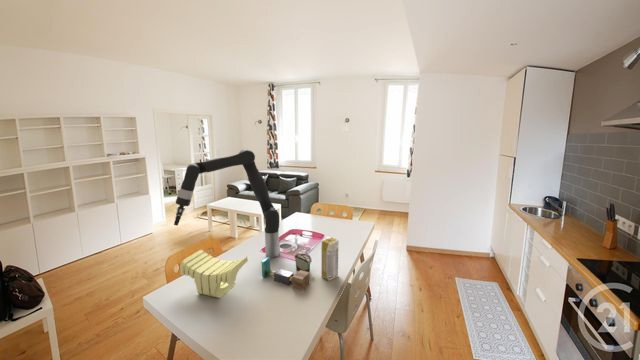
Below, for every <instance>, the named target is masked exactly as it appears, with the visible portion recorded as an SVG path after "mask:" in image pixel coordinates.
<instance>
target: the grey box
mask: <svg viewBox="0 0 640 360" xmlns="http://www.w3.org/2000/svg"><path fill="white" fill-rule="evenodd" d="M275 271H276V270H271V258H270V257H267V256H266V258H265V259H263V260H261V278H263V279H265V278H266V277H267V276H270V277H273V278H274V272H275ZM289 279H290V282H292V283H293V276H291V277H290V278H289Z"/></svg>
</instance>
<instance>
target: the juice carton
mask: <svg viewBox="0 0 640 360" xmlns="http://www.w3.org/2000/svg"><path fill="white" fill-rule="evenodd" d="M320 260H321V262H320V263H321V267H320V268H321V271H320V273H321V278H323V279H325V280H327V281H328V282H330V281H331V280H333V279H335V278H337V277H339V240H338V239H336V238H334V237H330V236H327V237H325V239H322V240H321V259H320Z"/></svg>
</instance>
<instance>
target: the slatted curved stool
mask: <svg viewBox="0 0 640 360" xmlns="http://www.w3.org/2000/svg"><path fill="white" fill-rule="evenodd" d="M247 262H248V256H246V257H243V258H240V259H236V260H223V259H219V258H217V257H213V256H212V255H210V254H209V253H208V252H206V251H204V250H203V249H199V250H198V251H196V252H193V254H191V255H189V256H187V257H185V258H184V259H183V260H182V261H181V262H180V266H179V271H180V276H187V277H190V278H191V279H194V283H195V287H196V290H197V294H200V295H206V296H209V297H213V298H222V297H223V296H224V295H225V294H226V293H228V291H230V290H231V289H232V288H233V287H234V286H235V285H236V282H235V281H236V280H237V278H236V277H237V275H238V272H239V271H240V270H241V268H243V266H245V264H246V263H247Z"/></svg>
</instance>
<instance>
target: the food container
mask: <svg viewBox="0 0 640 360" xmlns="http://www.w3.org/2000/svg"><path fill="white" fill-rule="evenodd" d="M294 258H295V259H294V260H295V267H296V268H295V270H296V271H297V272H298V271H300V270H302V271H306V272H309V273H310V272H311V263H312V262H313V261H312V257H311V255H309V254H307V253H297V254H294Z"/></svg>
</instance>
